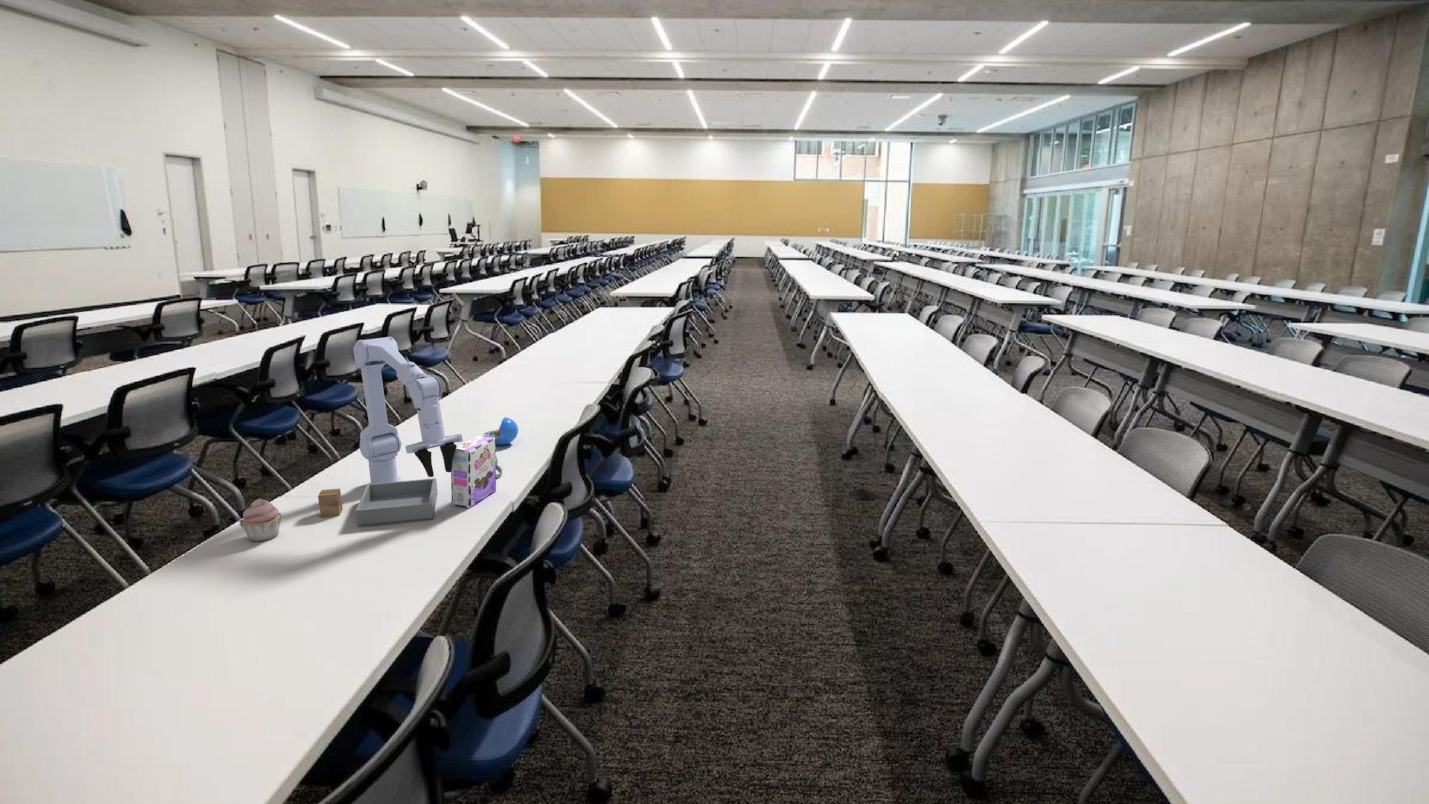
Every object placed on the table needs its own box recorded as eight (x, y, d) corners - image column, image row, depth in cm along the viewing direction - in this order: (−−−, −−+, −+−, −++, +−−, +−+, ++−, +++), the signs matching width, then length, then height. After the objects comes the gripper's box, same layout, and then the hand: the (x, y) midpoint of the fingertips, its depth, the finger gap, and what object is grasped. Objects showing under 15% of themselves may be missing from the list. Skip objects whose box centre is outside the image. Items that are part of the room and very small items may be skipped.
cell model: (490, 439, 264) (488, 413, 261) (523, 440, 263) (521, 414, 260) (479, 447, 254) (477, 420, 252) (513, 449, 253) (511, 422, 251)
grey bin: (368, 499, 207) (367, 484, 206) (437, 493, 212) (436, 478, 211) (357, 527, 189) (355, 510, 188) (433, 519, 194) (431, 503, 193)
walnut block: (324, 511, 199) (321, 489, 198) (342, 509, 200) (340, 488, 199) (320, 517, 195) (317, 495, 193) (339, 515, 196) (337, 494, 195)
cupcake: (265, 546, 177) (260, 507, 175) (232, 543, 179) (226, 504, 177) (294, 531, 186) (289, 493, 184) (262, 527, 188) (257, 490, 186)
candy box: (470, 509, 201) (469, 451, 197) (450, 505, 203) (449, 448, 198) (496, 491, 214) (496, 437, 210) (478, 488, 216) (477, 434, 211)
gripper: (410, 429, 186) (419, 482, 188) (464, 418, 196) (472, 468, 198) (398, 428, 191) (408, 480, 193) (452, 417, 201) (460, 466, 203)
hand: (440, 474), depth 196 cm, fingers open, 4 cm apart
